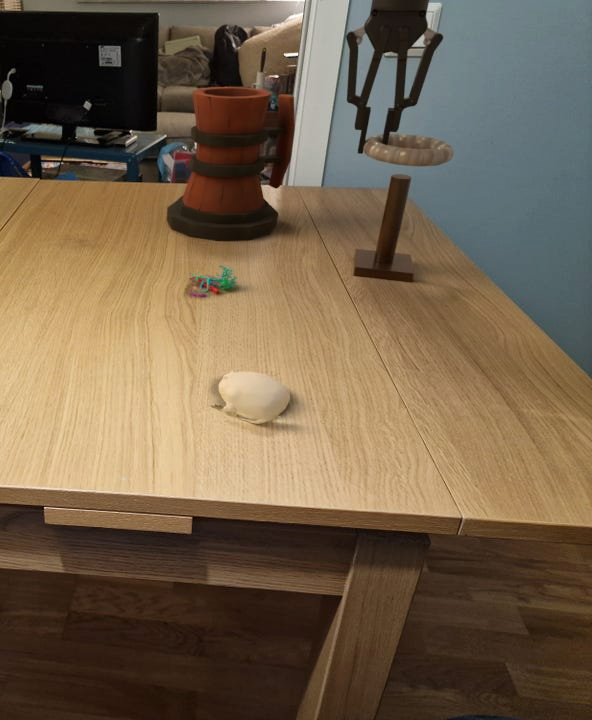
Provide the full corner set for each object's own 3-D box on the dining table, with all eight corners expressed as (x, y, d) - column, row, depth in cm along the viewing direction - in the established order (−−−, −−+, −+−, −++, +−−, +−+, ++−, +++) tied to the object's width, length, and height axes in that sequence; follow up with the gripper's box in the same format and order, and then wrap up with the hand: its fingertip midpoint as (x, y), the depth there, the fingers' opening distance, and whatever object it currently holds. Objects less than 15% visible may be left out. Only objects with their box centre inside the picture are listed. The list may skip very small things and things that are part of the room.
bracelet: (446, 151, 106) (450, 136, 105) (454, 171, 96) (459, 154, 94) (362, 145, 109) (365, 129, 108) (361, 163, 99) (365, 146, 98)
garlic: (204, 407, 75) (206, 379, 74) (234, 383, 80) (237, 355, 78) (267, 433, 71) (272, 404, 69) (296, 406, 76) (300, 378, 74)
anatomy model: (172, 265, 101) (199, 274, 96) (213, 256, 105) (242, 264, 99) (173, 297, 103) (199, 308, 98) (213, 287, 107) (241, 297, 101)
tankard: (149, 212, 139) (153, 87, 127) (254, 201, 146) (267, 81, 134) (195, 246, 121) (204, 104, 109) (312, 231, 128) (332, 96, 116)
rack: (408, 262, 114) (430, 171, 106) (411, 282, 107) (434, 186, 99) (354, 256, 117) (371, 167, 109) (353, 275, 109) (371, 181, 102)
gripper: (344, -21, 91) (318, 154, 103) (469, -21, 87) (427, 161, 98) (346, -21, 97) (320, 144, 109) (462, -21, 93) (423, 151, 105)
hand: (371, 152), depth 104 cm, fingers closed on bracelet, 3 cm apart
